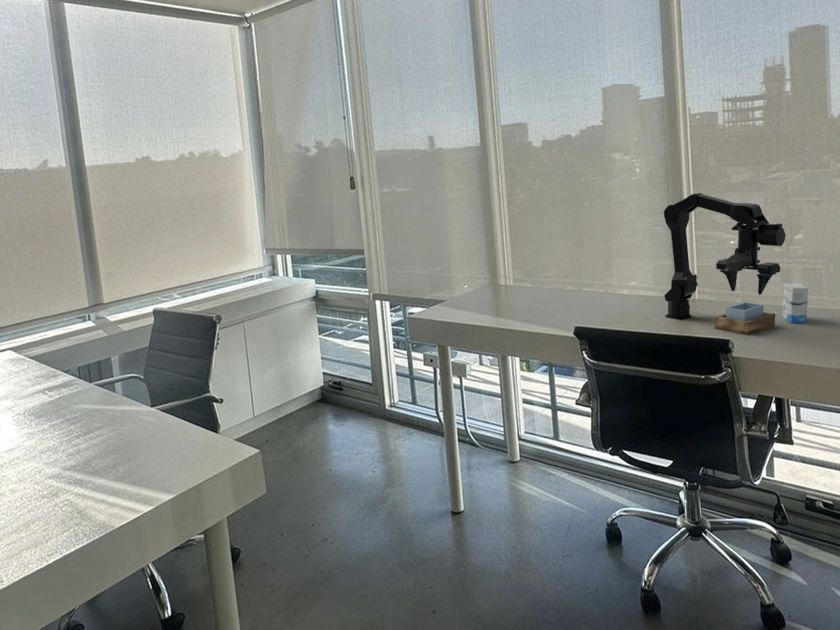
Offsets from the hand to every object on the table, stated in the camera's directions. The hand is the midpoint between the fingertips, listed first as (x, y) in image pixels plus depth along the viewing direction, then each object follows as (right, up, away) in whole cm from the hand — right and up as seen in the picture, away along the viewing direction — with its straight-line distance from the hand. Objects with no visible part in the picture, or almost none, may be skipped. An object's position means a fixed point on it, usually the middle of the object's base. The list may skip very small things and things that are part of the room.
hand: (746, 292), depth 217 cm
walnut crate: (+1, -11, +3) cm, 12 cm away
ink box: (+19, -9, +7) cm, 22 cm away
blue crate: (+1, -10, +3) cm, 11 cm away
